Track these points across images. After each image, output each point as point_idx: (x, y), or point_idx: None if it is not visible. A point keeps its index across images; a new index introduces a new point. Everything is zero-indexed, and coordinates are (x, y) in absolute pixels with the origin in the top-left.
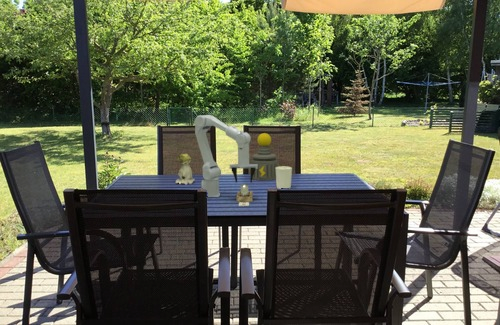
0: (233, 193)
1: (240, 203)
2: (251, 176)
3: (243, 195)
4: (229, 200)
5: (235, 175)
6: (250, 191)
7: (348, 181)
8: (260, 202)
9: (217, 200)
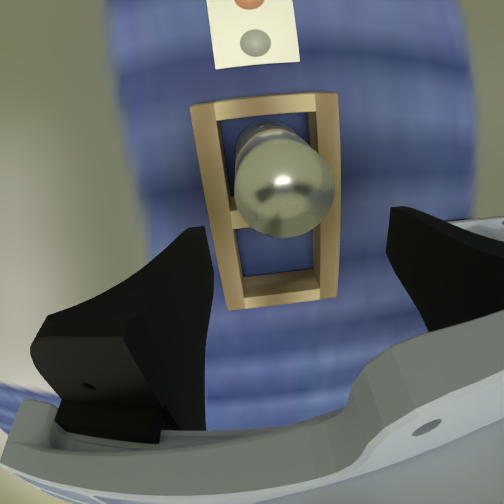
0: (355, 320)
1: (284, 27)
2: (166, 263)
3: (277, 125)
4: (382, 140)
5: (464, 238)
6: (241, 299)
7: (10, 428)
8: (128, 101)
9: (451, 143)
